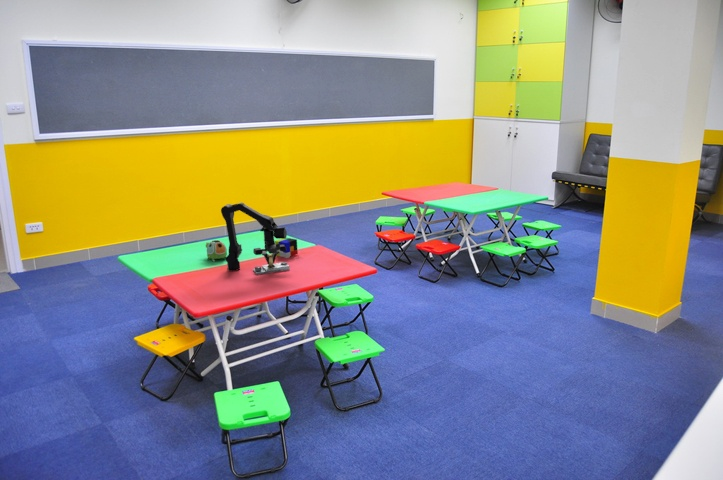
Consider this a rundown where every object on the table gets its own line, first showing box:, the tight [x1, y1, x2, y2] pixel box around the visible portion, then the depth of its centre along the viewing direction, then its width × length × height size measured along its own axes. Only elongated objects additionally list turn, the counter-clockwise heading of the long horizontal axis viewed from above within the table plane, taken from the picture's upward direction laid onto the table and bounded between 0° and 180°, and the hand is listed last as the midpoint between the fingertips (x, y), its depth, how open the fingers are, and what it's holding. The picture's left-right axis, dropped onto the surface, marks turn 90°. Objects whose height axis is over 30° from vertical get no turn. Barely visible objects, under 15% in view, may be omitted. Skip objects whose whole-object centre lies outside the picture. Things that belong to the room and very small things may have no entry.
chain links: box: [252, 261, 290, 276], centre depth 342 cm, size 20×9×3 cm, turn 114°
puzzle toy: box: [274, 237, 298, 259], centre depth 372 cm, size 10×10×10 cm
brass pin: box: [267, 253, 274, 268], centre depth 341 cm, size 3×3×8 cm
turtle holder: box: [205, 239, 228, 262], centre depth 369 cm, size 12×18×12 cm
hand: (270, 263), depth 342 cm, fingers closed on brass pin, 3 cm apart
